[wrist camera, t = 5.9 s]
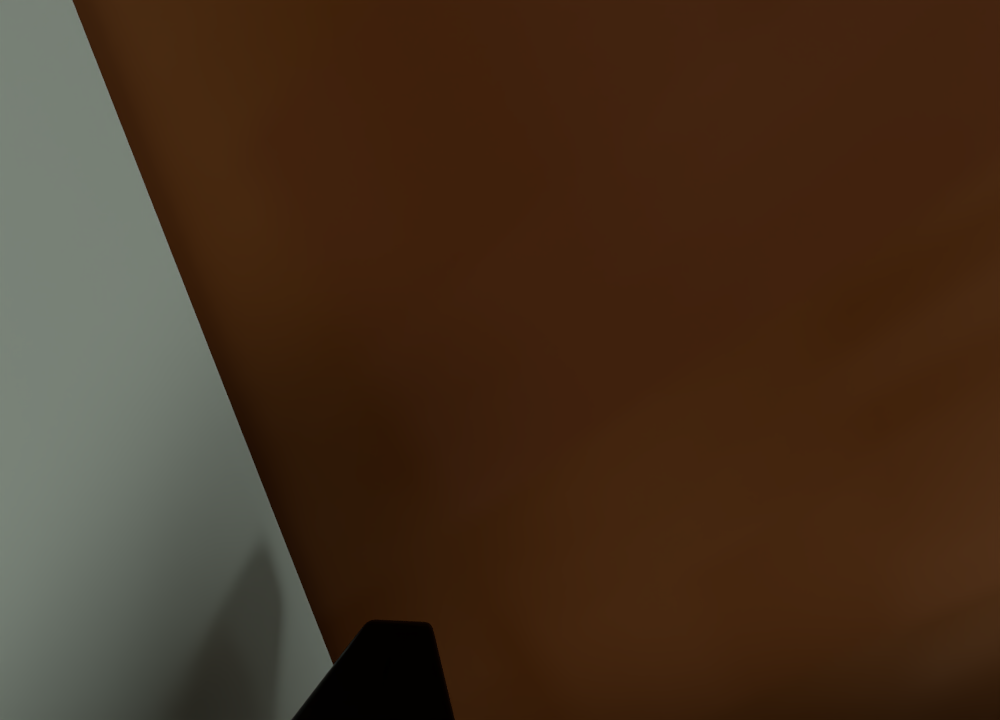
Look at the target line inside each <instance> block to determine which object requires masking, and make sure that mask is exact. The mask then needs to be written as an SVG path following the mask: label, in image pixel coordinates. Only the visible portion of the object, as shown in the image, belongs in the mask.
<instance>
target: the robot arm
mask: <svg viewBox="0 0 1000 720" xmlns="http://www.w3.org/2000/svg"><path fill="white" fill-rule="evenodd" d="M291 720H455V719H454V715H453V711H452V707H451V702H450V698H449V694H448V690H447V686H446V681H445V677H444V673H443V669H442V665H441V660H440V656H439V652H438V648H437V644H436V639H435V635H434V632H433V628H432V626H431V625H430V624H429V623H427V622H413V621H393V620H371V621H369V622H367V623H366V624H365V625H364V626H363V627H362V628H361V630H360V631H359V632H358V634H357V635H356V636H355V638H354V639H353V640H352V641H351V643H350V644H349V645H348V647H347V648H346V649H345V651H344V652H343V653H342V654H341V656H340V657H339V658H338V660H337V661H336V662H335V664H334V665H333V666H332V667H331V669H330V670H329V671H328V673H327V674H326V675H325V677H324V678H323V679H322V680H321V682H320V683H319V684H318V686H317V687H316V688H315V690H314V691H313V692H312V693H311V695H310V696H309V697H308V699H307V700H306V701H305V703H304V704H303V705H302V706H301V708H300V709H299V710H298V712H297V713H296V714H295V716H294V717H293V718H292V719H291Z"/></svg>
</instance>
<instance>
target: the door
mask: <svg viewBox="0 0 1000 720" xmlns="http://www.w3.org/2000/svg"><path fill="white" fill-rule="evenodd" d="M332 666H333V663H332V661H331V658H330V656H329V653H328V650H327V648H326V645H325V643H324V640H323V638H322V635H321V633H320V630H319V627H318V625H317V622H316V620H315V617H314V615H313V612H312V610H311V607H310V605H309V602H308V599H307V597H306V594H305V592H304V589H303V587H302V584H301V582H300V579H299V577H298V574H297V571H296V569H295V566H294V564H293V561H292V559H291V556H290V554H289V551H288V549H287V546H286V543H285V541H284V538H283V536H282V533H281V531H280V528H279V526H278V523H277V521H276V518H275V515H274V513H273V510H272V508H271V505H270V503H269V500H268V498H267V495H266V493H265V490H264V487H263V485H262V482H261V480H260V477H259V475H258V472H257V470H256V467H255V464H254V462H253V459H252V457H251V454H250V452H249V449H248V447H247V444H246V442H245V439H244V436H243V434H242V431H241V429H240V426H239V424H238V421H237V419H236V416H235V414H234V411H233V408H232V406H231V403H230V401H229V398H228V396H227V393H226V391H225V388H224V386H223V383H222V380H221V378H220V375H219V373H218V370H217V368H216V365H215V363H214V360H213V358H212V355H211V352H210V350H209V347H208V345H207V342H206V340H205V337H204V335H203V332H202V330H201V327H200V324H199V322H198V319H197V317H196V314H195V312H194V309H193V307H192V304H191V301H190V299H189V296H188V294H187V291H186V289H185V286H184V284H183V281H182V279H181V276H180V273H179V271H178V268H177V266H176V263H175V261H174V258H173V256H172V253H171V251H170V248H169V245H168V243H167V240H166V238H165V235H164V233H163V230H162V228H161V225H160V223H159V220H158V217H157V215H156V212H155V210H154V207H153V205H152V202H151V200H150V197H149V195H148V192H147V189H146V187H145V184H144V182H143V179H142V177H141V174H140V172H139V169H138V167H137V164H136V161H135V159H134V156H133V154H132V151H131V149H130V146H129V144H128V141H127V138H126V136H125V133H124V131H123V128H122V126H121V123H120V121H119V118H118V116H117V113H116V110H115V108H114V105H113V103H112V100H111V98H110V95H109V93H108V90H107V88H106V85H105V82H104V80H103V77H102V75H101V72H100V70H99V67H98V65H97V62H96V60H95V57H94V54H93V52H92V49H91V47H90V44H89V42H88V39H87V37H86V34H85V32H84V29H83V26H82V24H81V21H80V19H79V16H78V14H77V11H76V9H75V6H74V4H73V1H72V0H0V720H291V719H292V718H293V717H294V716H295V714H296V713H297V712H298V710H299V709H300V708H301V706H302V705H303V704H304V703H305V701H306V700H307V699H308V697H309V696H310V695H311V693H312V692H313V691H314V690H315V688H316V687H317V686H318V684H319V683H320V682H321V680H322V679H323V678H324V677H325V675H326V674H327V673H328V671H329V670H330V669H331V667H332Z"/></svg>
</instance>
